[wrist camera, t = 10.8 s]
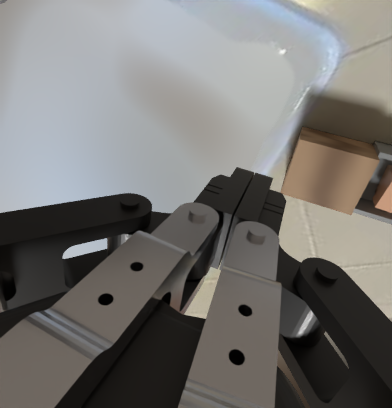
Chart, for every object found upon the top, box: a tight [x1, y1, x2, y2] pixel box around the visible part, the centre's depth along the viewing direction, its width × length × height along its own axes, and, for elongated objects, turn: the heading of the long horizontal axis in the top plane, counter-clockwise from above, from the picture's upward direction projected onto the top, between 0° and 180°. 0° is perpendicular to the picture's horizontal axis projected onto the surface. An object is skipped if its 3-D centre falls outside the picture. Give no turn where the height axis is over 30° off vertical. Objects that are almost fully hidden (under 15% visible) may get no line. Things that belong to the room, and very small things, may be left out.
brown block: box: [280, 127, 380, 215], centre depth 39 cm, size 9×8×6 cm
